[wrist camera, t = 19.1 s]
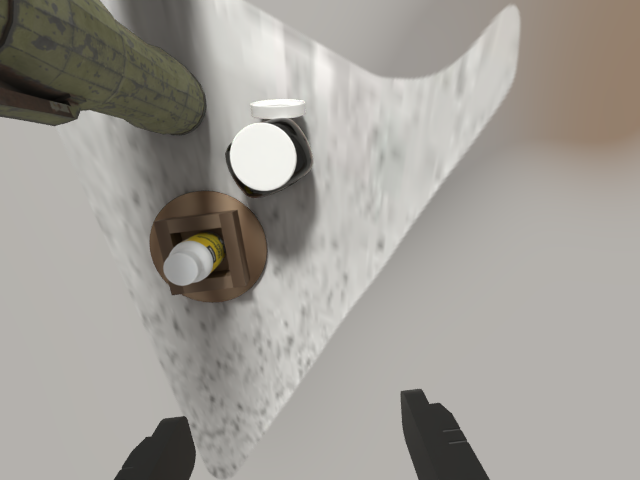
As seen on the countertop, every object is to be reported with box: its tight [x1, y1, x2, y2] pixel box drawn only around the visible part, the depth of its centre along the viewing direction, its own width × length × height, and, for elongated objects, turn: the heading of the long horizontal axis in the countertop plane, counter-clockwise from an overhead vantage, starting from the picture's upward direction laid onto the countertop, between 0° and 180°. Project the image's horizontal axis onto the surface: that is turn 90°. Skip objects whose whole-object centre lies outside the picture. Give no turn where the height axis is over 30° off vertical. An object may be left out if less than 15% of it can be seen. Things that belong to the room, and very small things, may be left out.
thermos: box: [0, 0, 206, 135], centre depth 22 cm, size 9×12×35 cm
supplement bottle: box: [163, 231, 226, 286], centre depth 39 cm, size 5×5×10 cm
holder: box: [150, 191, 267, 302], centre depth 42 cm, size 17×17×4 cm
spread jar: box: [225, 99, 314, 198], centre depth 35 cm, size 12×11×12 cm
